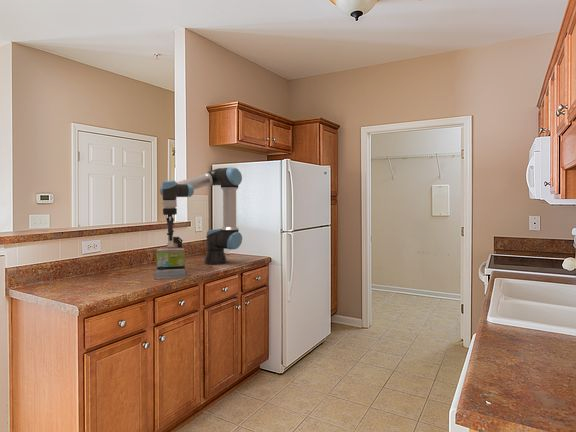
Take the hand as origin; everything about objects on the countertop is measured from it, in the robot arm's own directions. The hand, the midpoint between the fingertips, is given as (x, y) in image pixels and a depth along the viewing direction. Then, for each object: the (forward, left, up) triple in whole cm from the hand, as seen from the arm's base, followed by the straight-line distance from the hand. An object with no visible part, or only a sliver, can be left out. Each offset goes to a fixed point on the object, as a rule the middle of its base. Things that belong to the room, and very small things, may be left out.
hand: (170, 244), depth 225 cm
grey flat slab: (0, 0, -18) cm, 18 cm away
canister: (-3, -28, -18) cm, 34 cm away
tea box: (0, +1, -17) cm, 17 cm away
